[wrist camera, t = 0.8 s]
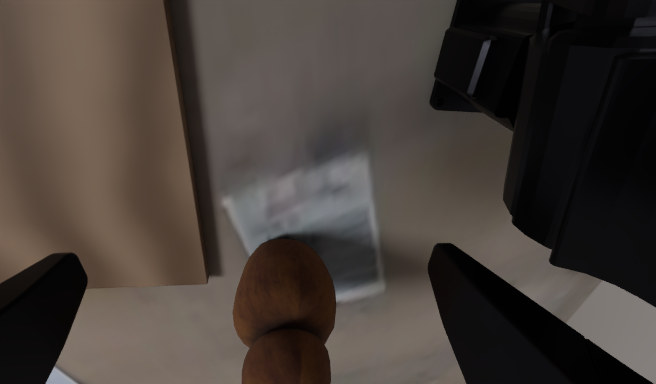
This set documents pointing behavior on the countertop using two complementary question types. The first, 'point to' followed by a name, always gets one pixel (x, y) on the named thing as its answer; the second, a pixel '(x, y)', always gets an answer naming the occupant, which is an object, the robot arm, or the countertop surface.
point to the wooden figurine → (285, 314)
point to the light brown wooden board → (96, 143)
